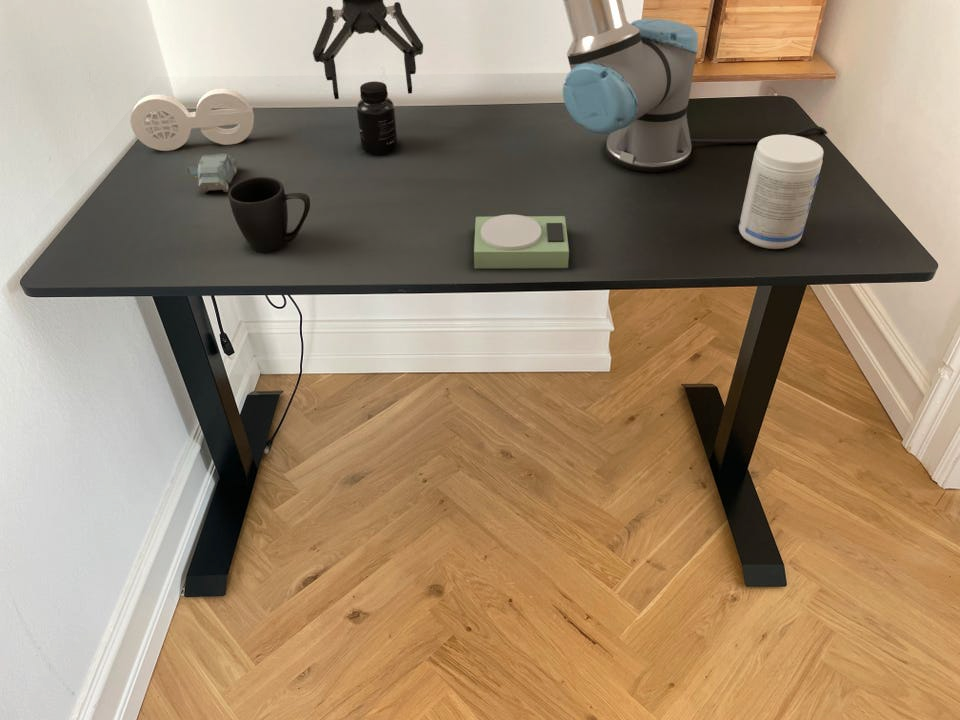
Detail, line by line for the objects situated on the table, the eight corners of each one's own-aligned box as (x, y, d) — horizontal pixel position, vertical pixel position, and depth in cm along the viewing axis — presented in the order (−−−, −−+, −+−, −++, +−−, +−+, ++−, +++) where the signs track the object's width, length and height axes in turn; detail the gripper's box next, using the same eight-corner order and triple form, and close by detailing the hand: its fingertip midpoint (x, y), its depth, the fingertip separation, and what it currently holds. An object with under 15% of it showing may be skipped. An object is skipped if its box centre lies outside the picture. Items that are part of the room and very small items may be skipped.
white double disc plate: (140, 153, 148) (123, 102, 142) (141, 148, 150) (125, 97, 143) (258, 141, 151) (247, 90, 144) (258, 136, 153) (247, 86, 146)
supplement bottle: (354, 149, 148) (346, 86, 140) (381, 136, 152) (374, 75, 144) (378, 160, 144) (371, 97, 136) (405, 147, 148) (400, 85, 140)
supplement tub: (812, 247, 120) (839, 158, 110) (755, 255, 118) (778, 166, 109) (780, 215, 127) (803, 129, 117) (726, 223, 126) (745, 137, 116)
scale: (564, 232, 124) (565, 212, 122) (567, 268, 117) (569, 248, 114) (476, 232, 125) (475, 213, 122) (474, 268, 117) (473, 248, 115)
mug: (309, 260, 120) (298, 206, 113) (234, 256, 121) (219, 202, 115) (323, 231, 126) (314, 178, 120) (252, 228, 127) (239, 175, 121)
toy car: (238, 169, 143) (232, 144, 139) (226, 196, 135) (219, 170, 132) (203, 169, 143) (196, 145, 139) (189, 197, 135) (181, 171, 132)
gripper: (426, -11, 150) (439, 96, 149) (295, -3, 148) (307, 106, 147) (427, -33, 143) (441, 79, 142) (289, -25, 140) (302, 90, 139)
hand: (373, 93), depth 144 cm, fingers open, 13 cm apart
